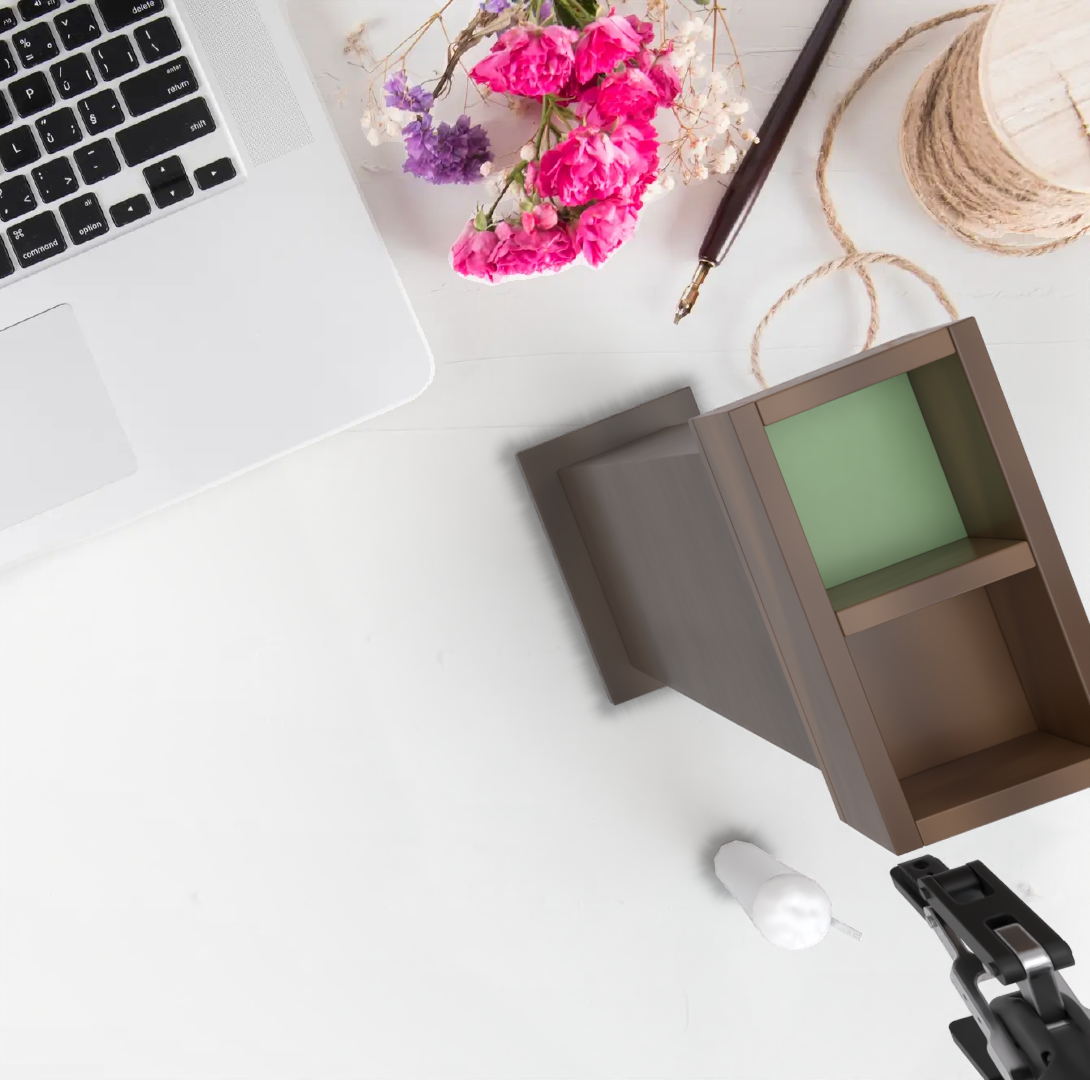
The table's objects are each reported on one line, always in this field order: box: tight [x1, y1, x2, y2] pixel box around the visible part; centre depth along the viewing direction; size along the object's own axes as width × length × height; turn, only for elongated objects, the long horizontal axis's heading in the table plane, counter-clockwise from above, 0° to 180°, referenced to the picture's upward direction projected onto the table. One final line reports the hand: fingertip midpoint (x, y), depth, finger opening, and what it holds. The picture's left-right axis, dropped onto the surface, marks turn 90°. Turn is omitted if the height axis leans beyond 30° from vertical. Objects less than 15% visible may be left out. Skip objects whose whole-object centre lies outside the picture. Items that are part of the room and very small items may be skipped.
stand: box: [514, 385, 821, 771], centre depth 54 cm, size 12×18×28 cm, turn 21°
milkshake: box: [713, 839, 863, 952], centre depth 63 cm, size 4×5×10 cm
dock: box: [688, 315, 1090, 857], centre depth 38 cm, size 9×17×4 cm, turn 21°
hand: (941, 945), depth 48 cm, fingers open, 8 cm apart
